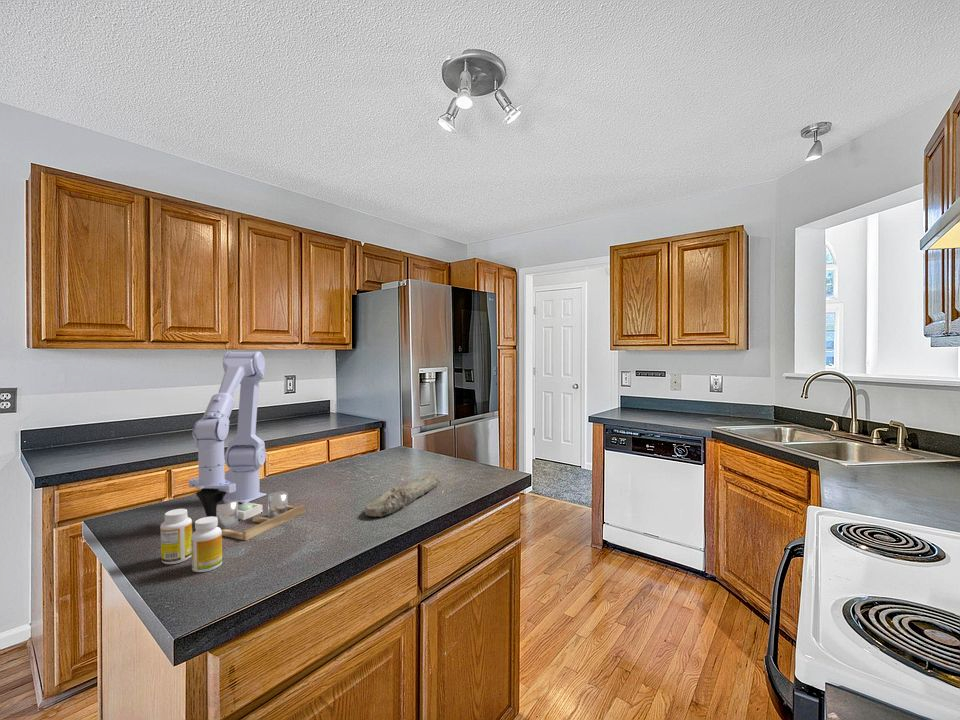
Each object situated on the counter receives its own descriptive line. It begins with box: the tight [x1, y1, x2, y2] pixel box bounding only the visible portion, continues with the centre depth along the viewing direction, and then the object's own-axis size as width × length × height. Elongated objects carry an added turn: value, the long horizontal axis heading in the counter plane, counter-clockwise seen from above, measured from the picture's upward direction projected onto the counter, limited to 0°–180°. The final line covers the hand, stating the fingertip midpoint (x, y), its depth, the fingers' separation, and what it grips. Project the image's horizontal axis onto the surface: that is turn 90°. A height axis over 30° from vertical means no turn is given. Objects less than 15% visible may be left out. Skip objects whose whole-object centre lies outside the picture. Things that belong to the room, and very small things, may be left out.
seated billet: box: [267, 490, 289, 518], centre depth 118 cm, size 5×5×6 cm
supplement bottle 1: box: [159, 508, 193, 565], centre depth 94 cm, size 6×6×10 cm
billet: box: [216, 499, 239, 530], centre depth 112 cm, size 5×5×6 cm
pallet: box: [221, 504, 306, 541], centre depth 113 cm, size 8×19×2 cm, turn 159°
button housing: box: [238, 502, 264, 521], centre depth 119 cm, size 6×6×2 cm
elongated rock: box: [364, 474, 441, 517], centre depth 132 cm, size 35×5×10 cm
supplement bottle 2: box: [190, 516, 223, 573], centre depth 91 cm, size 5×5×10 cm
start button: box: [238, 502, 253, 511], centre depth 119 cm, size 4×4×2 cm
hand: (212, 517), depth 114 cm, fingers closed
